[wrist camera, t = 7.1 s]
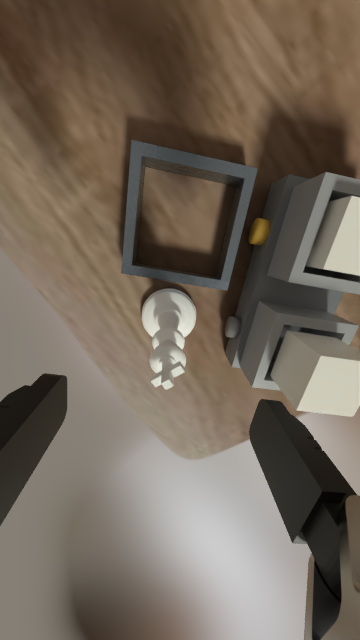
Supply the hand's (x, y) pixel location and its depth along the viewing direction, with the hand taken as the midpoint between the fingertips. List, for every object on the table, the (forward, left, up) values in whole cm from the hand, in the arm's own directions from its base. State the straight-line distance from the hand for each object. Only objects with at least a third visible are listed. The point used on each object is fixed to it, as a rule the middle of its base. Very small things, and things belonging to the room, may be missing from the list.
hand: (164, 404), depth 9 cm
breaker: (0, +10, -6) cm, 11 cm away
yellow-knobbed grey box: (-4, +10, -11) cm, 15 cm away
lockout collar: (-8, 0, -11) cm, 13 cm away
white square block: (-8, +10, -8) cm, 15 cm away
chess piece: (0, 0, -11) cm, 11 cm away
